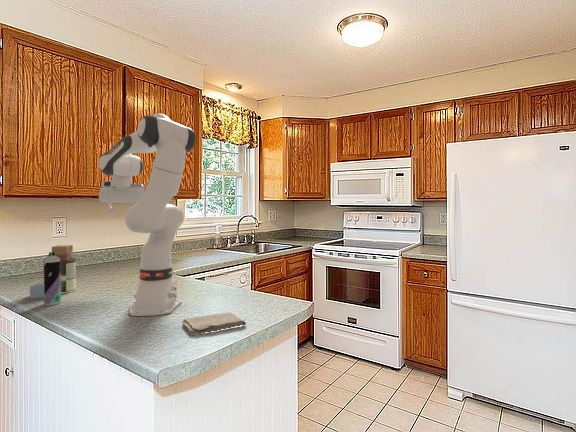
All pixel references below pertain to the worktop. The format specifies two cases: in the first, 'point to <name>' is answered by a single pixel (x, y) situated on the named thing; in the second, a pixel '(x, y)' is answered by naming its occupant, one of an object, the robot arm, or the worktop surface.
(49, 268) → the spray can
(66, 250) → the walnut block
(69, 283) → the coffee can
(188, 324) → the washcloth
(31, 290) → the slate block
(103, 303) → the worktop surface
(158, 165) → the robot arm
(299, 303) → the worktop surface
